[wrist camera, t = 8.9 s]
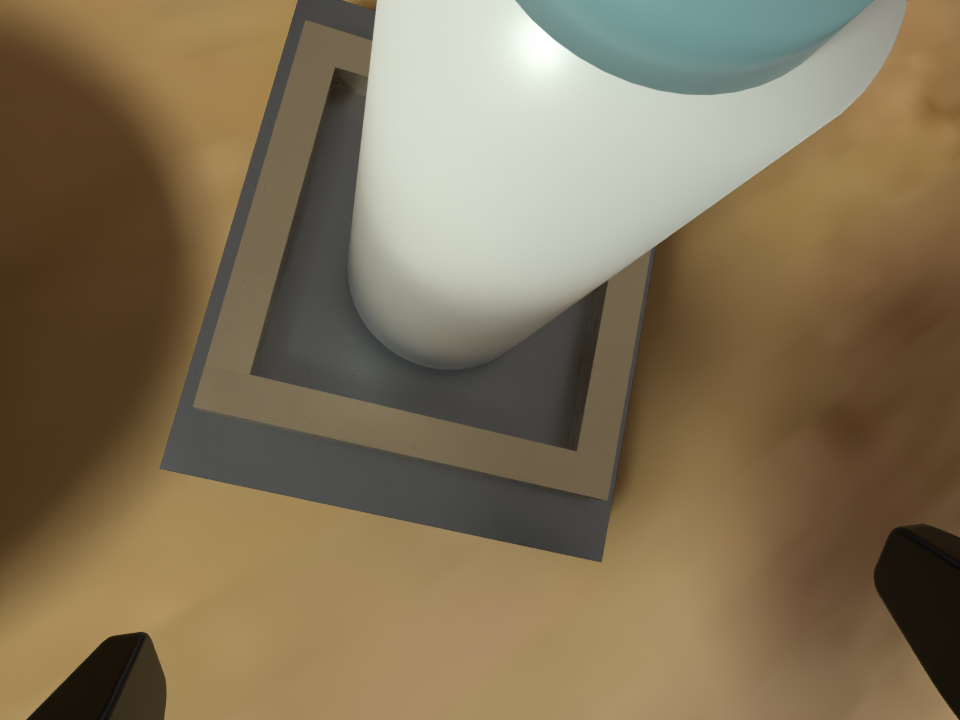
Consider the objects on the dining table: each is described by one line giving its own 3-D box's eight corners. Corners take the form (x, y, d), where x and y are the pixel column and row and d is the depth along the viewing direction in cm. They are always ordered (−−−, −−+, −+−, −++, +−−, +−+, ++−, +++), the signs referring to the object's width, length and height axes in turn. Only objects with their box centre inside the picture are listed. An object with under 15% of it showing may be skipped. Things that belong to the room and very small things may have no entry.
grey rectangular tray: (570, 553, 22) (616, 566, 18) (179, 470, 20) (150, 468, 17) (644, 145, 24) (695, 91, 21) (303, 40, 23) (301, -38, 19)
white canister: (568, 341, 20) (1079, 47, 7) (378, 392, 19) (521, 161, 5) (513, 159, 21) (879, -465, 7) (324, 197, 19) (327, -469, 6)
